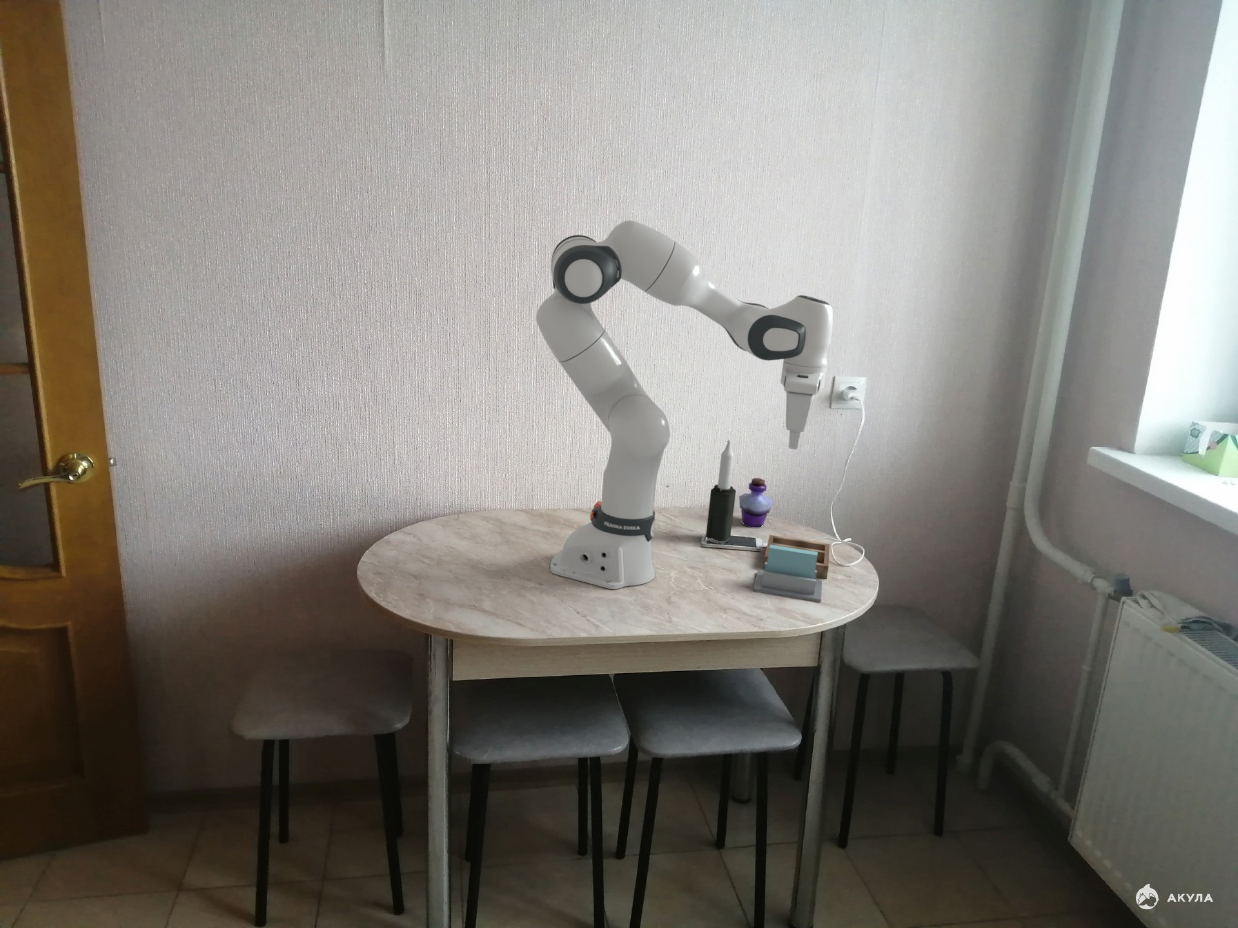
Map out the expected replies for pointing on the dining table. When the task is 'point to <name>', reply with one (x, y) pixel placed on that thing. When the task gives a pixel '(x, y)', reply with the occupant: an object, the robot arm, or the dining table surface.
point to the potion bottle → (755, 504)
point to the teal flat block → (791, 561)
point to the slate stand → (788, 585)
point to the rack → (821, 548)
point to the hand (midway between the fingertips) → (794, 442)
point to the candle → (722, 500)
